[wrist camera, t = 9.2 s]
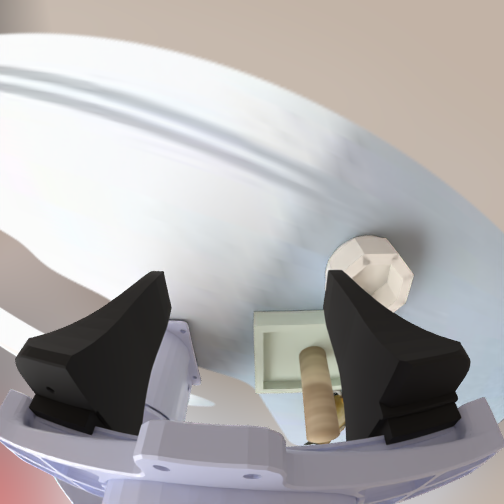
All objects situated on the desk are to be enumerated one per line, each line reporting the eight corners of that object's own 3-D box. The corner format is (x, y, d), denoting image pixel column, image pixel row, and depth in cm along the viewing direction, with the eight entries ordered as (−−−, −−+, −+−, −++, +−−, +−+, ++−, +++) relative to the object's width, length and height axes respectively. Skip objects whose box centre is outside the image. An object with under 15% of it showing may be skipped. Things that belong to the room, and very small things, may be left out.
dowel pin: (323, 363, 27) (336, 441, 19) (297, 364, 27) (304, 444, 19) (327, 345, 26) (343, 427, 18) (299, 346, 26) (308, 430, 18)
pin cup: (388, 299, 24) (399, 321, 22) (321, 303, 25) (327, 326, 22) (403, 235, 21) (419, 252, 19) (328, 234, 22) (338, 254, 19)
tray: (353, 375, 30) (357, 387, 28) (255, 380, 30) (255, 393, 28) (374, 307, 25) (380, 319, 23) (253, 311, 25) (253, 325, 24)
